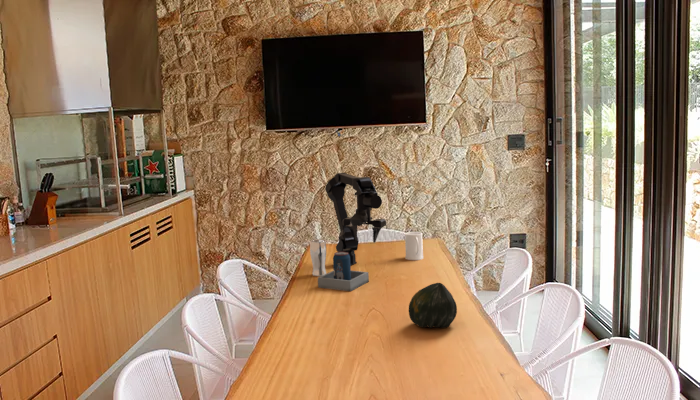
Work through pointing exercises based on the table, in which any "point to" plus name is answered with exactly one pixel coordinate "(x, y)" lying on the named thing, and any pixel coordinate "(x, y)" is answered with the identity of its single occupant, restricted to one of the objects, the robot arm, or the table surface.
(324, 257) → the beer glass
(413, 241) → the mug
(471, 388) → the table surface
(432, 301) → the squash
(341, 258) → the soda can
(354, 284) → the open box
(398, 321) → the table surface
